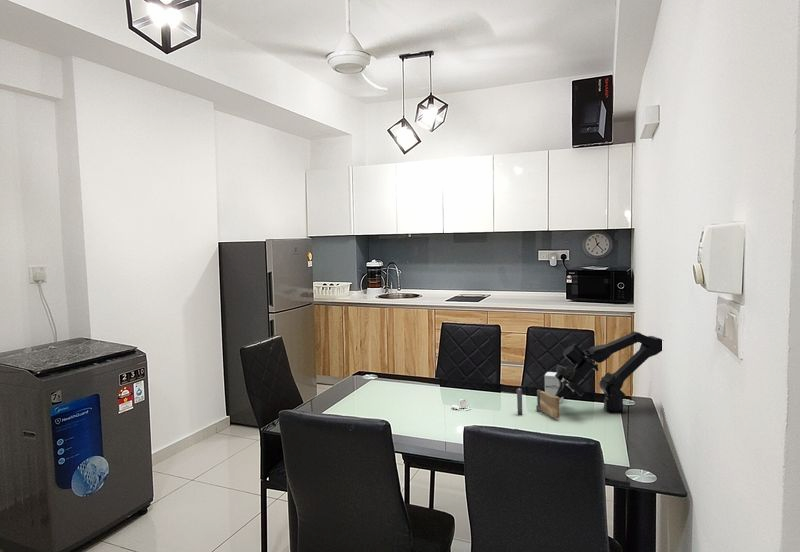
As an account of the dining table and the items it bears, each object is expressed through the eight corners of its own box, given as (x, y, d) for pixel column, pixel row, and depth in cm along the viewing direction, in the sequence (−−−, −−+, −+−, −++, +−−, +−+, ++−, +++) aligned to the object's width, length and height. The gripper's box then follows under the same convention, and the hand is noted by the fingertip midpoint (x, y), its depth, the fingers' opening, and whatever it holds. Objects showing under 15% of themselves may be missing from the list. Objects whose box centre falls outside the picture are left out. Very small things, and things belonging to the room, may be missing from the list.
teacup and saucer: (449, 410, 222) (449, 401, 222) (456, 405, 229) (456, 396, 229) (468, 413, 218) (468, 403, 218) (474, 407, 225) (474, 398, 225)
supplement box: (544, 402, 227) (543, 375, 226) (547, 397, 234) (547, 371, 233) (561, 404, 224) (560, 376, 223) (564, 399, 230) (563, 372, 230)
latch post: (522, 413, 213) (521, 387, 213) (523, 415, 211) (522, 388, 210) (516, 413, 213) (515, 387, 213) (517, 415, 211) (517, 389, 210)
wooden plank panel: (540, 407, 217) (540, 388, 217) (559, 417, 203) (559, 397, 203) (536, 408, 217) (535, 388, 216) (555, 418, 203) (554, 398, 202)
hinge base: (541, 409, 217) (541, 405, 217) (543, 411, 215) (543, 407, 215) (535, 409, 217) (535, 405, 217) (537, 411, 215) (537, 407, 214)
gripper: (559, 354, 219) (534, 380, 219) (576, 363, 201) (549, 392, 201) (576, 370, 220) (552, 396, 220) (595, 382, 202) (569, 410, 202)
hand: (555, 398), depth 211 cm, fingers closed
